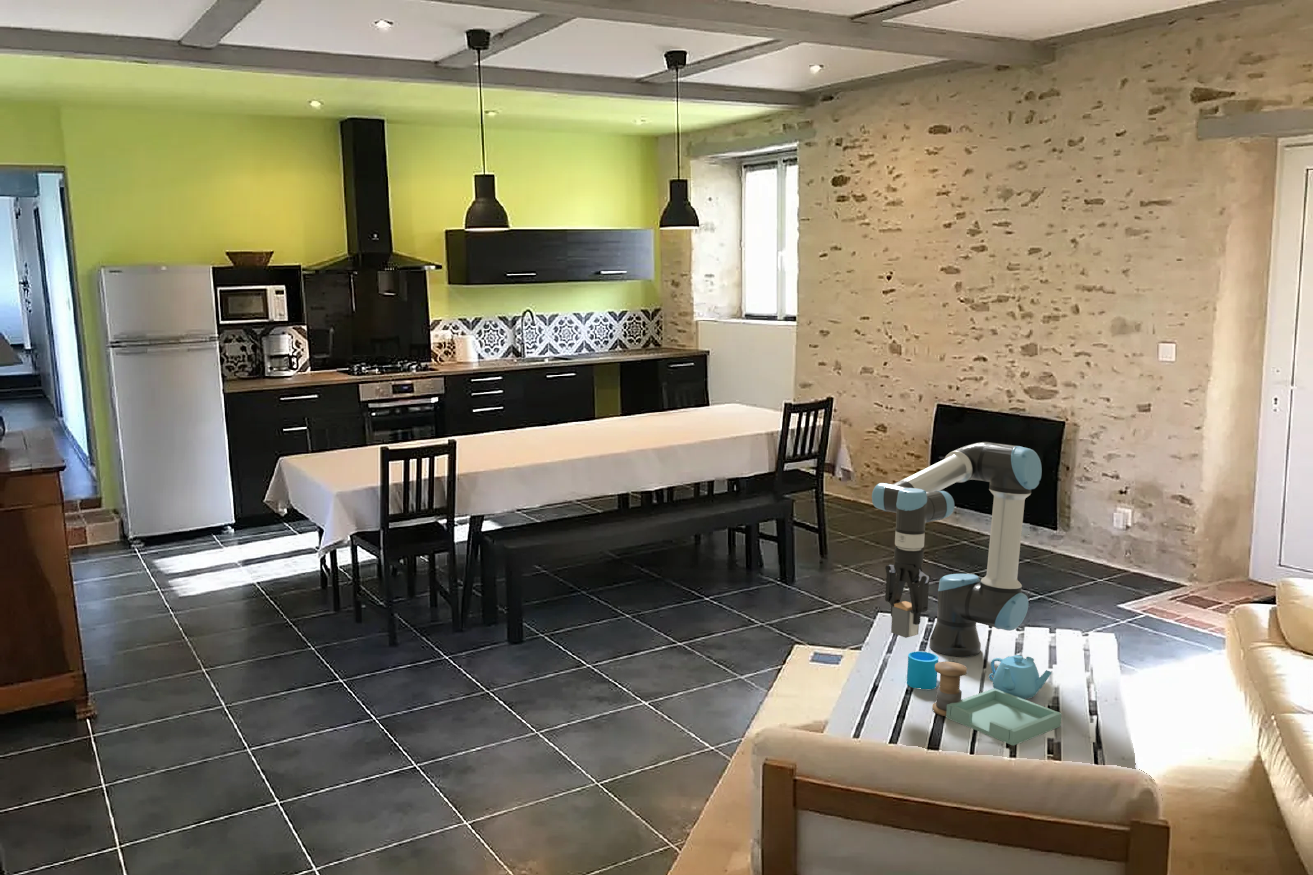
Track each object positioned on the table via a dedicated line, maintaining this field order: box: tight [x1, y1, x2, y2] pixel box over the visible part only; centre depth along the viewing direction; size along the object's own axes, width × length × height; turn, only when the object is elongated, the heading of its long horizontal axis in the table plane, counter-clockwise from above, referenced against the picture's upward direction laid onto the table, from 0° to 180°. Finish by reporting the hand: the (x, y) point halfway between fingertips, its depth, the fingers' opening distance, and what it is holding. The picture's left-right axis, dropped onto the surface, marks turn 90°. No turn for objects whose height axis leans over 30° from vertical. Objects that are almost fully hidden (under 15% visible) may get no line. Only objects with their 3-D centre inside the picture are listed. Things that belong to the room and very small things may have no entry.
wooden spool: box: [931, 661, 968, 717], centre depth 273 cm, size 8×8×12 cm
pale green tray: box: [945, 687, 1062, 746], centre depth 268 cm, size 20×20×4 cm
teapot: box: [988, 654, 1052, 700], centre depth 285 cm, size 15×14×11 cm
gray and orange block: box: [890, 600, 920, 639], centre depth 279 cm, size 5×5×8 cm
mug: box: [906, 651, 939, 690], centre depth 293 cm, size 12×8×8 cm
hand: (904, 632), depth 279 cm, fingers closed on gray and orange block, 5 cm apart
